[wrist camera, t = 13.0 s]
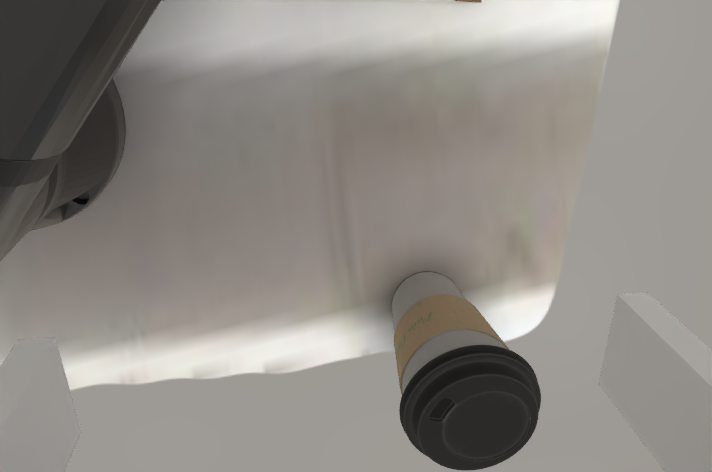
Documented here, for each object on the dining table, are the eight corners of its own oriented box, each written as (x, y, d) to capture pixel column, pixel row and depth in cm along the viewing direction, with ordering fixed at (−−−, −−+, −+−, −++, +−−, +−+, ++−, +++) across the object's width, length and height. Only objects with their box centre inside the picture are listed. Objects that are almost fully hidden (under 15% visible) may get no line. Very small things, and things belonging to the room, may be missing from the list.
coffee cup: (374, 253, 48) (411, 367, 34) (485, 251, 49) (563, 360, 36) (369, 348, 52) (400, 484, 38) (472, 344, 53) (537, 474, 40)
